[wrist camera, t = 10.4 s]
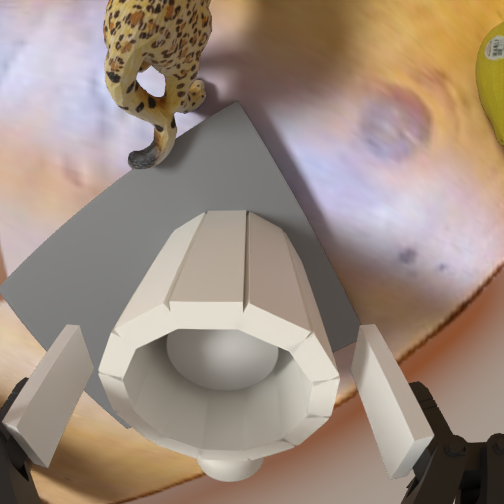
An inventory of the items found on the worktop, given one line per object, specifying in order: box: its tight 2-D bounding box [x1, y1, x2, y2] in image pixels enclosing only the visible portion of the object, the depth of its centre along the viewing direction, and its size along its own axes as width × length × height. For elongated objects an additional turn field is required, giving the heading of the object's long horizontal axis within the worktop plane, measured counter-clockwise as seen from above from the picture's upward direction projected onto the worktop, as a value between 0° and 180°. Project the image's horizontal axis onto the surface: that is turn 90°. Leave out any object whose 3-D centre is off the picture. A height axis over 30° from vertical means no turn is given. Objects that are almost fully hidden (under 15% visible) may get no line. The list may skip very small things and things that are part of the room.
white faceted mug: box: [98, 210, 340, 482], centre depth 16 cm, size 12×9×10 cm
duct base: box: [0, 101, 361, 429], centre depth 19 cm, size 24×18×8 cm
